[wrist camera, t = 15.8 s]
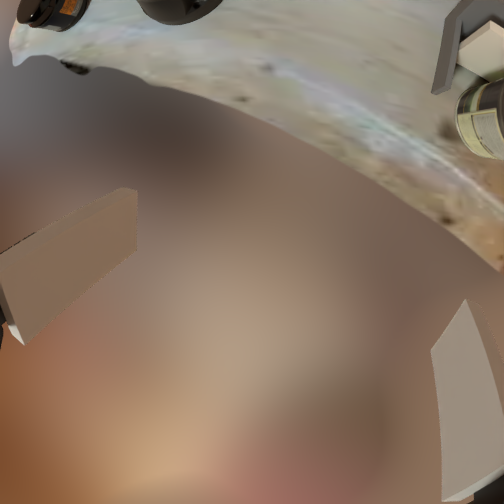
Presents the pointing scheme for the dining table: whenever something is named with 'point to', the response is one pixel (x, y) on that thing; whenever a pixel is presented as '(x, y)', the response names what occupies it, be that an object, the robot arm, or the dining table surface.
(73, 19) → the supplement container
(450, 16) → the grey u-shaped holder
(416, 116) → the dining table surface
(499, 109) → the coffee can
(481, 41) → the curved beige panel
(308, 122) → the dining table surface
